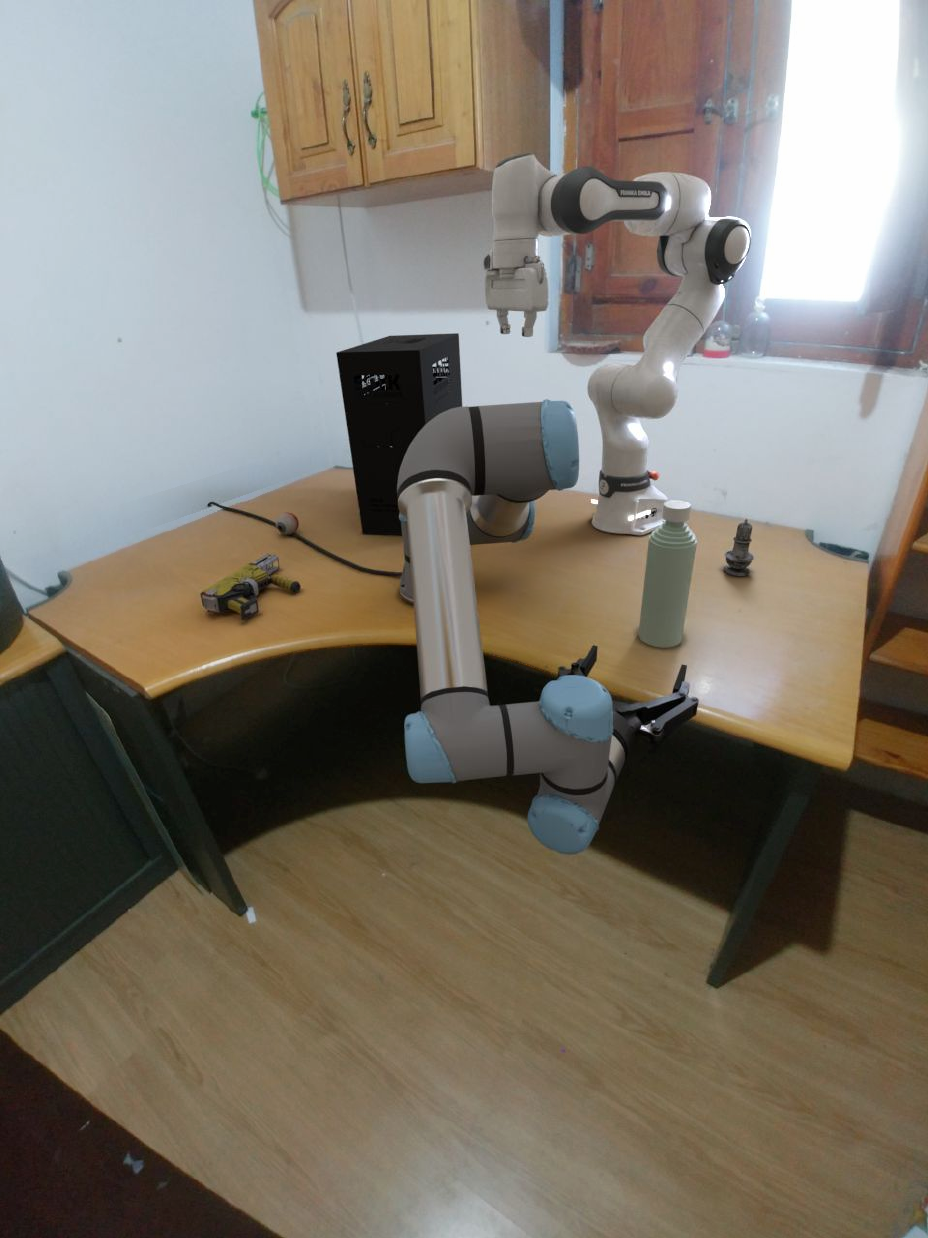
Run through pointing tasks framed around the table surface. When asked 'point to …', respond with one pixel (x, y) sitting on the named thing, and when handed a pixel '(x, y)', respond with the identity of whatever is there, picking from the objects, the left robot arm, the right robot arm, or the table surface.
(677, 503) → the cap
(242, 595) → the toy gun
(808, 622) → the table surface
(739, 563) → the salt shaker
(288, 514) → the eyeball
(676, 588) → the bottle
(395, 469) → the cardboard box
